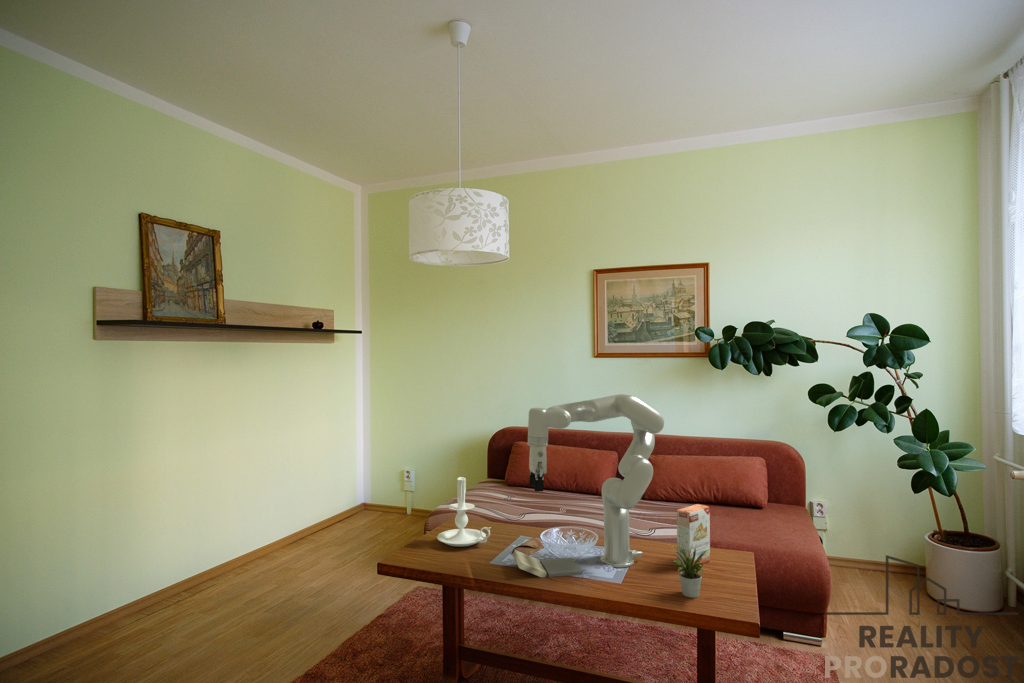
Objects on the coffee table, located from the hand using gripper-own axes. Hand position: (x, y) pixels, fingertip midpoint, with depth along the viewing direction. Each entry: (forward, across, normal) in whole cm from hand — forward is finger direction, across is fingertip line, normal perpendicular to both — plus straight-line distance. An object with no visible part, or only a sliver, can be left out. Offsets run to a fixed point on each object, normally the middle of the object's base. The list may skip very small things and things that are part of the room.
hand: (536, 488), depth 206 cm
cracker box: (+27, -4, -61) cm, 67 cm away
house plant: (+28, -29, -46) cm, 61 cm away
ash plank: (+28, -2, +2) cm, 28 cm away
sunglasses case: (+31, +20, -3) cm, 37 cm away
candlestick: (+31, +34, +22) cm, 51 cm away
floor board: (+30, -2, -10) cm, 31 cm away
